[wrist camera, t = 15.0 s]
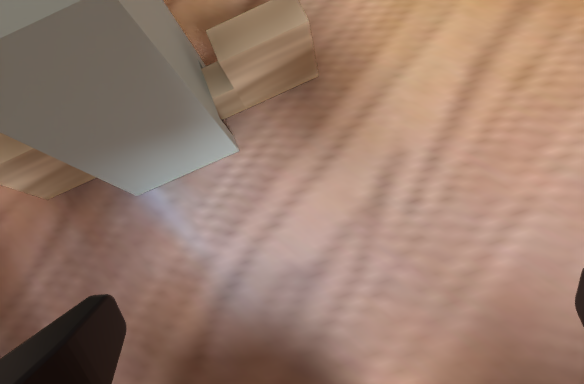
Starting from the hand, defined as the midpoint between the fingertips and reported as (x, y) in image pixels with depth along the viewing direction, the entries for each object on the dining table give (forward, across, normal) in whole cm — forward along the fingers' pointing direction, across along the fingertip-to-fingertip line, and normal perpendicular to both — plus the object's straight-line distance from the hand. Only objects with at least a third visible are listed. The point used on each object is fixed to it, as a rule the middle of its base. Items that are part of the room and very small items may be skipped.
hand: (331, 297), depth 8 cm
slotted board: (+17, +9, +2) cm, 20 cm away
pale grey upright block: (+17, +10, +2) cm, 19 cm away
